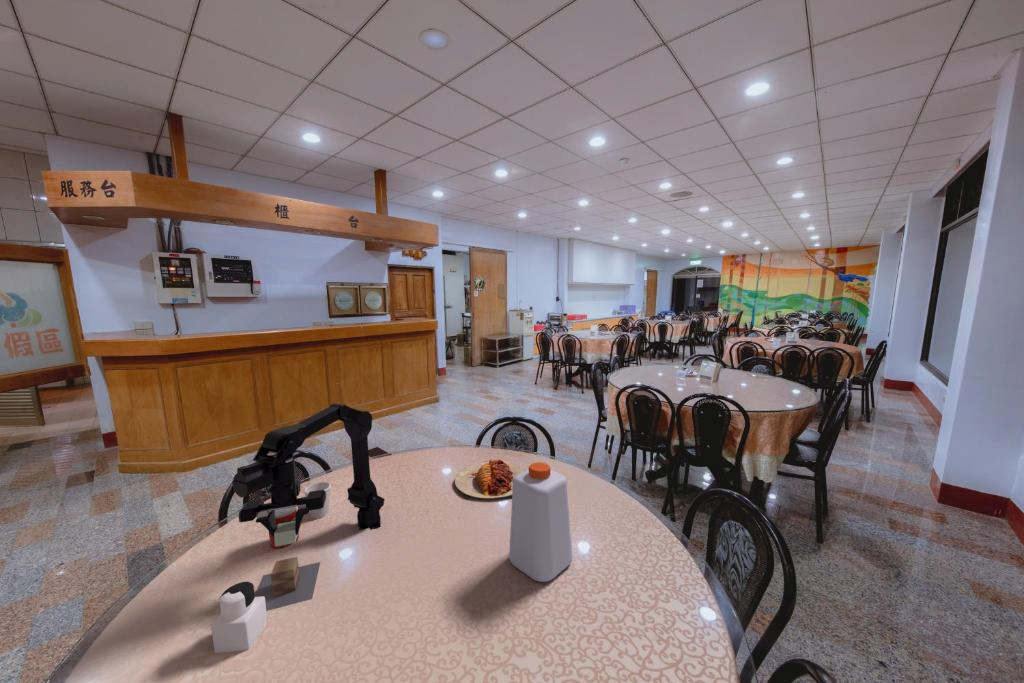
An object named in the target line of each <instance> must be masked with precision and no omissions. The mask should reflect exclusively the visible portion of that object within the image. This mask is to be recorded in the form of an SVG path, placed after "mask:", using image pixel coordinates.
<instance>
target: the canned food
mask: <svg viewBox="0 0 1024 683" xmlns="http://www.w3.org/2000/svg"><path fill="white" fill-rule="evenodd" d="M297 510H298V508H297V507H291V508H285V509H279V510H275V520H276V526H278V524H282V523H288V522H293V521H295V519H296V512H297ZM268 535H269V536H268V537H269V545H270V546H271V548H273V549H283V548H287V547H290V546H291V545H293V544H294V543H291V544H286V545H281V546H276V547H275V539H274V537H273V536H272V535H271V533H270V532H269V531H268ZM299 537H300V535H299V533H298V536H297V539H296V542H295V543H297V542H298V540H299Z"/></svg>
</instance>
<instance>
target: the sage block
mask: <svg viewBox="0 0 1024 683" xmlns="http://www.w3.org/2000/svg"><path fill="white" fill-rule="evenodd" d="M297 536H298V535H296V531H295V521H293V522H288V523H282V524H278V526H277V529H276V531H275V533H274V539H275V547H276V546H281V545H286V544H291V543H293V544H295V543H297V542H296V539H297ZM291 545H292V544H291Z"/></svg>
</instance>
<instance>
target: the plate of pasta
mask: <svg viewBox="0 0 1024 683" xmlns="http://www.w3.org/2000/svg"><path fill="white" fill-rule="evenodd" d="M524 471H526V469H525V468H523V469H522V468H521V467H520V465H519V464H517V463H513V462H510V461H509V462H508V461H503V460H502V459H494V460H493V459H489V460H488V461H487V460H486V461H480V462H478V463H475V464H471V465H469V466H466V467H465V468H463V469H461V470H460V471H459V473H458V474H457V476H456V477H455V479H454V485H455V486H456V488H457V489H458V490H459V492H461V494H464V495H467V496H470V497H474V498H480V499H497V498H498V499H499V498H507V497H512V490H513V484H512V483H513V479H514V477H515V476H517V475H519V474H520V473H522V472H524ZM513 475H514V476H513ZM474 476H475V477H476V479H475V477H474ZM472 478H473V479H472ZM470 479H472V481H476V482H477V485H478V486H479V487H480V492H481V493H478V492H476V491H475V492H474V491H473V490H472V489H471V488H470V486H469V481H470Z"/></svg>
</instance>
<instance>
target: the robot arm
mask: <svg viewBox="0 0 1024 683" xmlns="http://www.w3.org/2000/svg"><path fill="white" fill-rule="evenodd" d="M337 421H341V422H343V427H344V430H345V432H346V434H347V435H348V436H349V438H350V443H351V444H350V445H351V460H352V471H353V472H352V473H353V482H352V484H351V486H349V487H348V488H347V494H348V495H347V501H349V504H351V505H353V507H354V508H356V509H358V510H357V514H356V516H357V527H358V528H359V531H363V530H367V529H369V530H372V529H376V528H380V527H381V523H382V522H381V520H382V519H381V509H382V507H383V506H384V505H385V501H386V500H385V498H384V497H381V496H380V495H378V491H377V486H376V485H375V483H374V481H373V479H371V469H370V468H371V466H370V456H369V455H370V454H369V452H370V451H369V442H368V437H369V434H370V433H371V430H372V427H373V416H372V413H371V412H369V411H367V410H360V409H356V408H353V407H351V406H348V405H346V404H344V403H343V404H342V403H332V404H330V405H329V406H328V407H326V408H324V409H322V410H320V411H318V412H317V413H314V414H313V415H311V416H309V417H307V418H304V419H303V420H301V421H300V422H298V423H295V424H292V425H286V426H281V427H279V428H275V429H273V430H270V431H269V432H267V433H266V434H265V435H264V438H263V440H262V443H261V445H260V447H259V449H258V450H257V452H256V453H255V455H254V457H253V459H252V461H254V462H253V463H250V464H248V465H242V466H240V467H237V469H236V472H237V473H235V474H234V476H233V480H232V482H231V484H232V488H233V491H234V492H235V494H236V495H237V496H238V497H239V498H244V497H246V496H249V495H251V494H253V493H256V492H258V491H260V490H263V489H265V488H267V487H269V494H270V502H267V503H265V500H264V499H254V500H248V501H246V502H245V503H244V505H243V506H242V508H241V509H240V510H239V512H238V522H239V523H246V522H253V521H254V520H255V523H257V524H259V523H260V524H261V525H262V526H263V527H264V528H266V530H267V531H268V533H269V532H270V533H271V535H272V536H273V537H274V533H275V531H276V529H277V526H276V520H275V510H279V509H285V508H291V507H296V508H297V512H296V519H295V531H296V535H298V533H299V532H300V528H301V524H302V521H303V518H304V517H305V515H308V514H310V512H309V511H311V510H317V509H321V508H323V507H324V503H325V500H326V492H325V491H324V490H317V491H311V492H309V494H308V496H305V495H304V496H302V497H299V495H300V493H301V484H302V483H301V481H302V480H301V479H297V476H296V463H295V459H296V460H297V459H298V458H301V457H303V453H302V452H300V451H298V449H299V448H300V447H302V446H303V444H304V442H305V441H306V440H307V439H308V438H309V437H311V436H313V435H315V434H316V433H318V432H319V431H322V430H323V429H325V428H326V427H328V426H330V425H332V424H334V423H336V422H337ZM269 453H270V454H275V456H274V455H269Z"/></svg>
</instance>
